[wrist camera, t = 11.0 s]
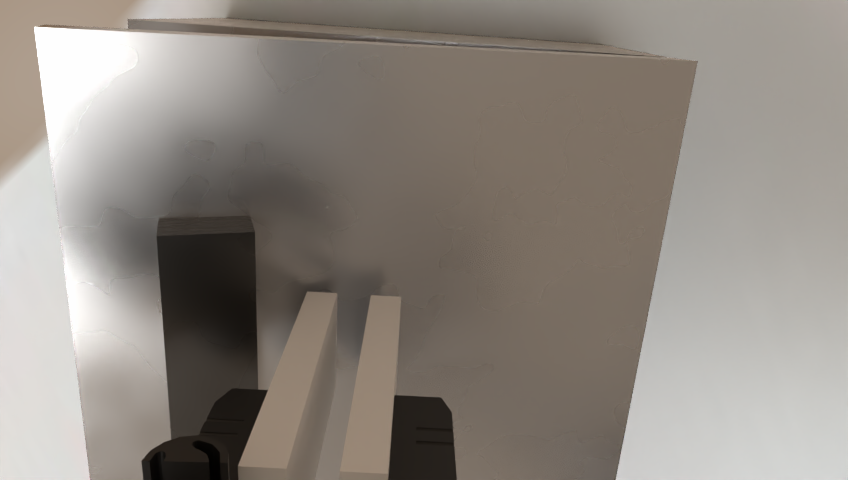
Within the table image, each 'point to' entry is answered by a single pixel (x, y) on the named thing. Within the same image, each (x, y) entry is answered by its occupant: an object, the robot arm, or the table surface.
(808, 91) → the table surface
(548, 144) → the lid
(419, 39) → the grey rectangular box
